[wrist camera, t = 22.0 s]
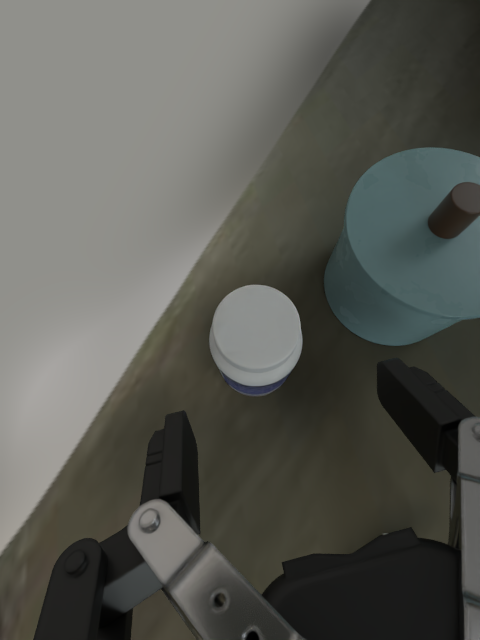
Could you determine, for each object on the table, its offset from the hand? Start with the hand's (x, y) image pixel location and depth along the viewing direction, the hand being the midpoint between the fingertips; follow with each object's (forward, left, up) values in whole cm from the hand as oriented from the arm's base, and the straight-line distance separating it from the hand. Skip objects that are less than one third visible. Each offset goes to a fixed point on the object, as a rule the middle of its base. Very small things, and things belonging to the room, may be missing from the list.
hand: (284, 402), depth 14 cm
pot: (-14, -4, -13) cm, 19 cm away
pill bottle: (-1, -4, -13) cm, 13 cm away
